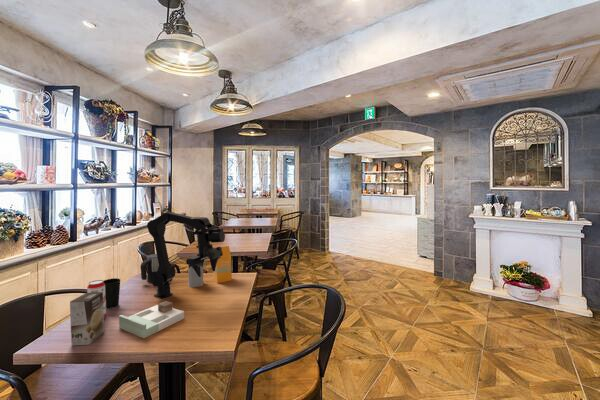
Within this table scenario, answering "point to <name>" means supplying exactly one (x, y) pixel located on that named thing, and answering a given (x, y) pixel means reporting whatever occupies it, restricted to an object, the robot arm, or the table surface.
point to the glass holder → (195, 277)
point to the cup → (112, 292)
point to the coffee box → (86, 318)
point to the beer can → (98, 287)
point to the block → (165, 306)
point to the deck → (149, 321)
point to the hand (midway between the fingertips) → (206, 274)
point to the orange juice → (223, 267)
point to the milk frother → (149, 268)
